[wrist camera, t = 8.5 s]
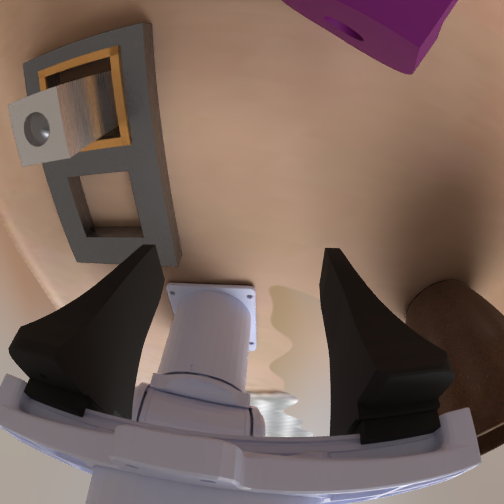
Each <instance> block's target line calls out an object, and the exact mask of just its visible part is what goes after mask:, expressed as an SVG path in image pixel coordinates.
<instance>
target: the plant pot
mask: <svg viewBox="0 0 504 504" xmlns="http://www.w3.org/2000/svg"><path fill="white" fill-rule="evenodd" d="M406 325H407V326H408V327H410V328H411V329H412V330H414V331H415V332H416V333H418V334H419V335H421V336H422V337H423V338H425V339H426V340H428V341H429V342H431V343H433V344H434V345H436V346H438V347H439V348H441V349H443V350H444V351H446V352H447V354H448V356H449V358H450V361H451V364H452V367H453V371H454V374H455V377H454V380H453V382H452V383H451V385H450V386H449V387H448V388H447V390H446V391H445V392H444V393H443V394H442V395H441V396H440V397H439V402H440V408H439V409H437V411H438V416H440V415H442V414H444V413H447V412H451V411H455V410H459V409H463V408H467V407H468V408H470V412H471V416H472V420H473V424H474V428H475V432H476V437H477V441H478V446H479V451H480V456H481V455H483V454H485V453H487V452H489V451H491V450H493V449H495V448H497V447H499V446H501V445H503V444H504V316H503V314H502V313H500V312H499V311H498V310H497V309H496V308H495V307H494V306H493V305H491V304H490V303H489V302H488V301H487V300H485V299H484V298H483V297H482V296H480V295H479V294H478V293H476V292H475V291H474V290H472V289H471V288H469V287H468V286H466V285H465V284H463V283H462V282H460V281H457V280H446V281H442V282H439V283H436V284H434V285H432V286H430V287H428V288H427V289H425V290H424V291H423V292H421V293H420V294H419V295H418V296H417V297H416V298H415V299H414V300H413V302H412V303H411V304H410V306H409V308H408V311H407V315H406Z"/></svg>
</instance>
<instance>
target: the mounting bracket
mask: <svg viewBox="0 0 504 504" xmlns="http://www.w3.org/2000/svg"><path fill="white" fill-rule="evenodd" d="M282 1H283V2H284V3H286V4H287V5H288V6H290V7H291V8H293V9H294V10H296V11H297V12H299V13H300V14H302V15H303V16H305V17H306V18H308V19H309V20H311V21H313V22H314V23H316V24H318V25H319V26H321V27H323V28H325V29H326V30H328V31H330V32H331V33H333V34H334V35H336V36H338V37H339V38H341V39H342V40H344V41H345V42H347V43H348V44H350V45H352V46H353V47H355V48H357V49H358V50H360V51H362V52H364V53H365V54H367V55H369V56H370V57H372V58H374V59H376V60H377V61H379V62H381V63H383V64H385V65H387V66H389V67H391V68H393V69H395V70H397V71H399V72H402V73H405V74H413V72H414V71H415V69H416V68H417V67H418V65H419V64H420V62H421V61H422V59H423V58H424V57H425V55H426V54H427V52H428V51H429V49H430V48H431V46H432V45H433V44H434V42H435V41H436V39H437V37H438V34H439V32H440V29H441V26H442V24H443V22H444V20H445V19H446V17H447V16H448V14H449V13H450V11H451V10H452V8H453V7H454V5H455V4H456V2H457V1H458V0H282Z"/></svg>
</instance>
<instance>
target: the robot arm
mask: <svg viewBox="0 0 504 504" xmlns="http://www.w3.org/2000/svg"><path fill="white" fill-rule="evenodd" d="M164 280H165V279H164V275H163V272H162V268H161V264H160V260H159V256H158V252H157V249H156V245H151V244H143V245H142V246H140V247H139V248H138V249H137V250H135V251H134V252H133V253H132V254H131V255H130V256H129V257H127V258H126V259H125V260H124V261H123V262H122V263H121V264H120V265H118V266H117V267H116V268H115V269H114V270H113V271H112V272H111V273H109V274H108V275H107V276H106V277H104V278H103V279H102V280H101V281H100V282H98V283H97V284H96V285H95V286H93V287H92V288H91V289H90V290H88V291H87V292H85V293H84V294H83V295H81V296H80V297H78V298H77V299H75V300H74V301H72V302H70V303H69V304H67V305H65V306H64V307H62V308H60V309H59V310H57V311H55V312H53V313H51V314H49V315H47V316H45V317H43V318H41V319H39V320H36V321H34V322H32V323H29V324H27V325H24V326H21V327H20V329H19V330H18V332H17V334H16V336H15V337H14V339H13V341H12V343H11V345H10V347H9V354H10V356H11V357H12V359H13V360H14V361H15V362H16V364H17V365H18V366H19V367H20V368H21V369H22V370H23V371H24V372H25V374H26V375H27V376H28V377H29V378H30V379H29V381H28V383H26V382H25V381H23V380H21V379H19V378H17V377H14V376H12V375H9V374H6V375H5V377H4V379H3V382H2V384H1V386H0V427H1V428H2V429H3V430H5V431H6V432H8V433H9V434H11V435H12V436H13V437H15V438H17V439H18V440H19V441H21V442H23V443H25V444H27V445H29V446H31V447H33V448H35V449H37V450H39V451H41V452H43V453H45V454H47V455H49V456H51V457H53V458H55V459H57V460H60V461H62V462H64V463H66V464H68V465H71V466H73V467H75V468H78V469H80V470H83V471H85V472H88V473H90V474H92V478H91V483H90V487H89V491H88V495H87V500H86V504H347V503H354V502H361V501H366V500H372V499H377V498H382V497H387V496H392V495H396V494H400V493H404V492H409V491H412V490H416V489H420V488H424V487H427V486H431V485H434V484H437V483H440V482H444V481H447V480H449V479H452V478H454V477H456V476H458V475H460V474H462V473H464V472H466V471H468V470H470V469H472V468H474V467H476V466H478V465H479V464H481V456H480V451H479V446H478V441H477V437H476V432H475V428H474V424H473V420H472V416H471V412H470V408H468V407H467V408H463V409H459V410H455V411H451V412H447V413H444V414H442V415H440V416H438V411H437V409H439V408H440V402H439V397H440V396H441V395H442V394H443V393H444V392H445V391H446V390H447V388H448V387H449V386H450V385H451V383H452V382H453V380H454V377H455V374H454V371H453V367H452V364H451V361H450V358H449V356H448V354H447V352H446V351H444V350H443V349H441V348H439V347H438V346H436V345H434V344H433V343H431V342H429V341H428V340H426V339H425V338H423V337H422V336H421V335H419V334H418V333H416V332H415V331H414V330H412V329H411V328H410V327H408V326H407V325H406V324H405V323H404V322H402V321H401V320H400V319H399V318H398V317H397V316H395V315H394V314H393V313H392V312H391V311H390V310H389V309H388V308H387V307H386V306H385V305H384V304H383V303H382V302H381V301H380V300H379V299H378V298H377V297H376V295H375V294H374V293H373V292H372V291H371V290H370V288H369V287H368V286H367V285H366V284H365V282H364V281H363V280H362V278H361V277H360V276H359V275H358V273H357V272H356V271H355V269H354V268H353V266H352V265H351V264H350V262H349V261H348V259H347V258H346V257H345V255H344V254H343V252H342V251H341V250H340V248H325V252H324V259H323V265H322V272H321V278H320V284H319V286H320V302H321V310H322V315H323V321H324V326H325V332H326V337H327V343H328V349H329V358H330V382H331V420H330V436H323V437H265V422H264V418H263V416H262V415H261V413H260V412H259V410H258V408H257V407H254V406H250V394H248V393H245V386H246V375H247V364H248V353H249V351H255V350H256V348H257V340H256V292H255V288H254V287H253V286H242V285H213V284H190V283H168V284H167V286H166V289H167V293H168V296H169V300H170V303H171V306H172V310H173V313H174V319H173V322H172V325H171V328H170V332H169V335H168V338H167V342H166V345H165V349H164V352H163V356H162V359H161V363H160V366H159V370H158V373H153V376H152V380H151V383H150V384H147V383H141V384H140V385H138V386H137V387H135V383H136V377H137V372H138V366H139V362H140V357H141V353H142V348H143V345H144V342H145V338H146V336H147V333H148V330H149V328H150V325H151V322H152V320H153V317H154V314H155V312H156V309H157V306H158V304H159V301H160V298H161V294H162V289H163V285H164ZM172 291H173V292H172ZM249 295H251V296H249Z"/></svg>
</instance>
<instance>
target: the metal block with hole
mask: <svg viewBox="0 0 504 504" xmlns="http://www.w3.org/2000/svg"><path fill="white" fill-rule="evenodd" d="M8 109H9V114H10V119H11V124H12V128H13V133H14V137H15V141H16V145H17V149H18V153H19V157H20V160H21V164H22V167H25V166H30V165H35V164H40V163H45V162H50V161H56V160H61V159H67V158H71V157H72V156H74V155H75V154H76V153H78V152H79V151H81V150H82V149H84V148H85V147H86V146H88V145H89V144H91V143H92V142H94V141H95V140H97V139H98V138H100V137H101V136H103V135H104V134H106V133H107V132H109V131H111V130H112V129H114V128H115V127H117V126H119V124H118V117H117V111H116V104H115V97H114V89H113V81H112V73H111V71H107V72H103V73H99V74H95V75H91V76H87V77H84V78H80V79H77V80H73V81H70V82H67V83H64V84H61V85H58V86H55V87H52V88H49V89H46V90H43V91H41V92H38V93H35V94H33V95H30V96H27V97H25V98H22V99H20V100H18V101H15V102H13V103H11V104H8Z"/></svg>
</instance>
